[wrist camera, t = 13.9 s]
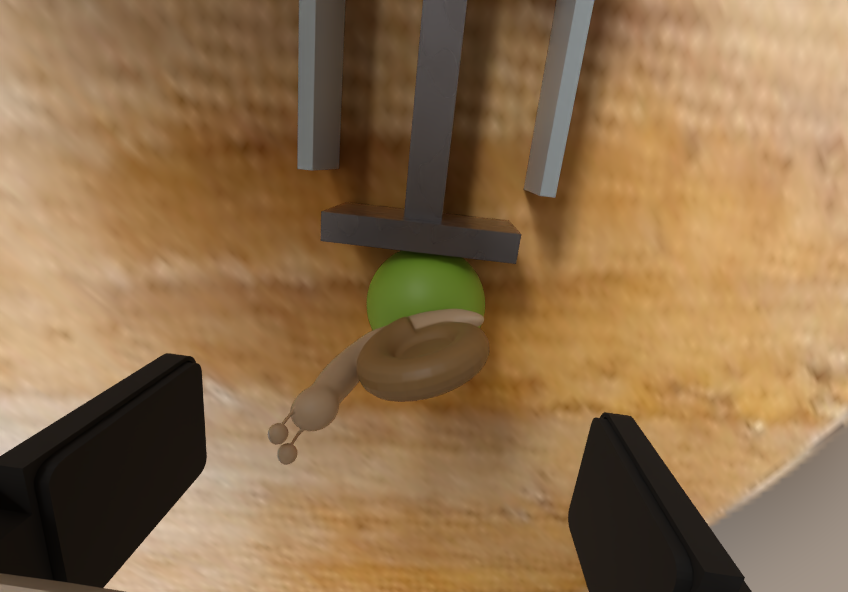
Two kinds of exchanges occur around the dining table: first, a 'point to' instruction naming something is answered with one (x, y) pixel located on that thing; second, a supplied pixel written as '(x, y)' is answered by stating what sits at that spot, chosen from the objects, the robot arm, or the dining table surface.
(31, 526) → the robot arm
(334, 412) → the snail figurine
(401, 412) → the dining table surface
